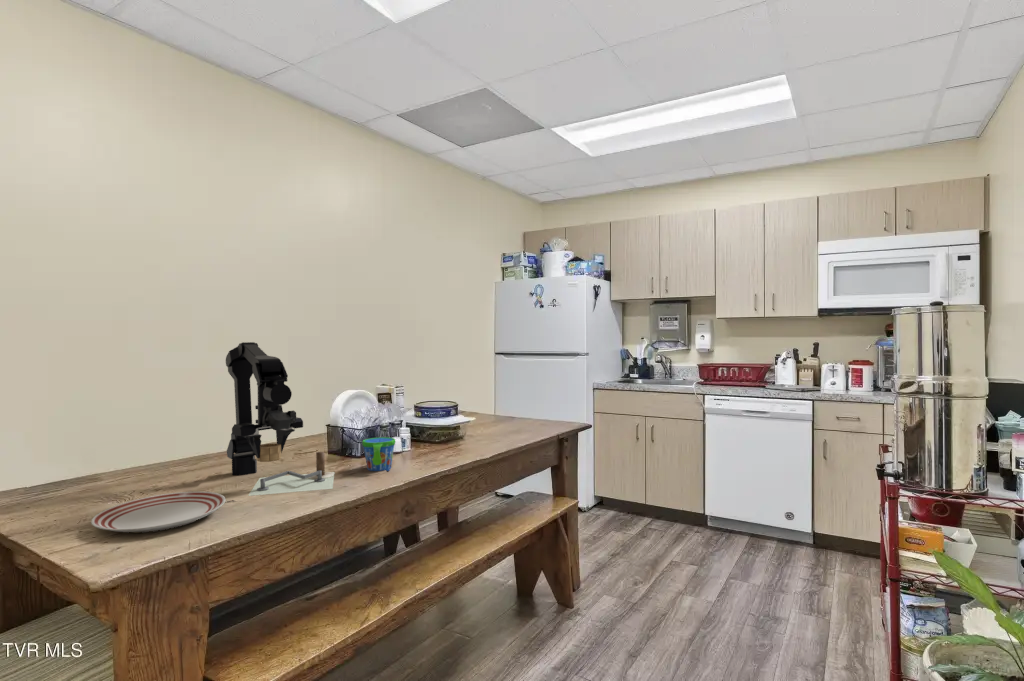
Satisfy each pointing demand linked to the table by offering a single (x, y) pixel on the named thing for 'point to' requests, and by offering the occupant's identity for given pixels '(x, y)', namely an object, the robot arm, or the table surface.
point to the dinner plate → (158, 512)
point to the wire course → (291, 483)
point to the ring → (269, 452)
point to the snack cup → (379, 453)
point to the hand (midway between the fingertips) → (269, 455)
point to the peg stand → (321, 466)
